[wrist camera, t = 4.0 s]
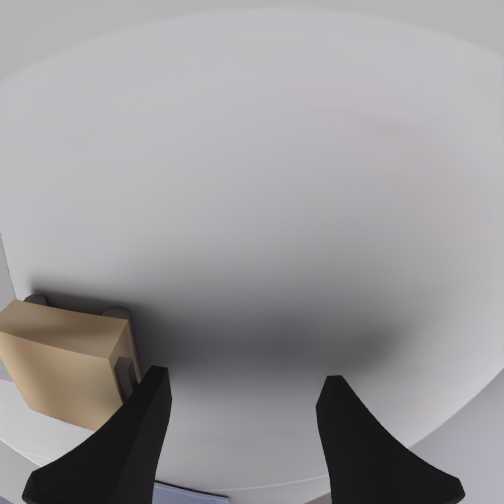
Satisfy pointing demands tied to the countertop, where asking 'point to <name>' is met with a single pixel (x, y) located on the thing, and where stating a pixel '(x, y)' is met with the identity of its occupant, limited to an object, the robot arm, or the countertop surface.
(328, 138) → the countertop surface
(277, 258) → the countertop surface
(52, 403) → the tan cardboard box
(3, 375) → the dock
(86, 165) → the countertop surface
